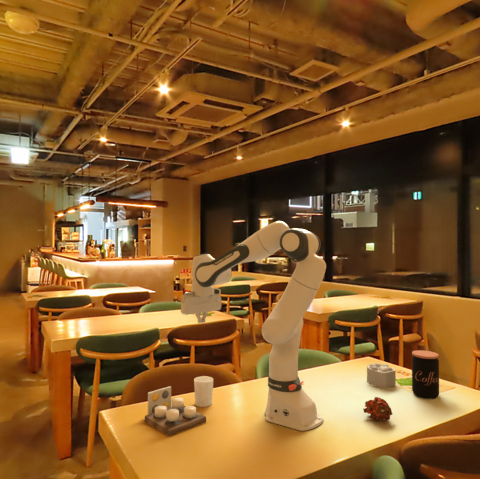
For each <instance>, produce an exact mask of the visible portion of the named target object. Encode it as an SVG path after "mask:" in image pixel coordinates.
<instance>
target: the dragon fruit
mask: <svg viewBox="0 0 480 479" xmlns="http://www.w3.org/2000/svg"><path fill="white" fill-rule="evenodd" d="M364 404H365V405H364V407H365V408H362V409H363V413H365V414H368V415H370V416H369V417H370V419H371V420H373V421H374V420H376V421H379V422H384V421H389V420H391V416H392V415H393V412H392V408H391V406H390V404H389V403H388V402H387V400H386V399H384V398H381V397H378V396H375V397H374V399H369V400H366V401H365V403H364Z"/></svg>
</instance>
